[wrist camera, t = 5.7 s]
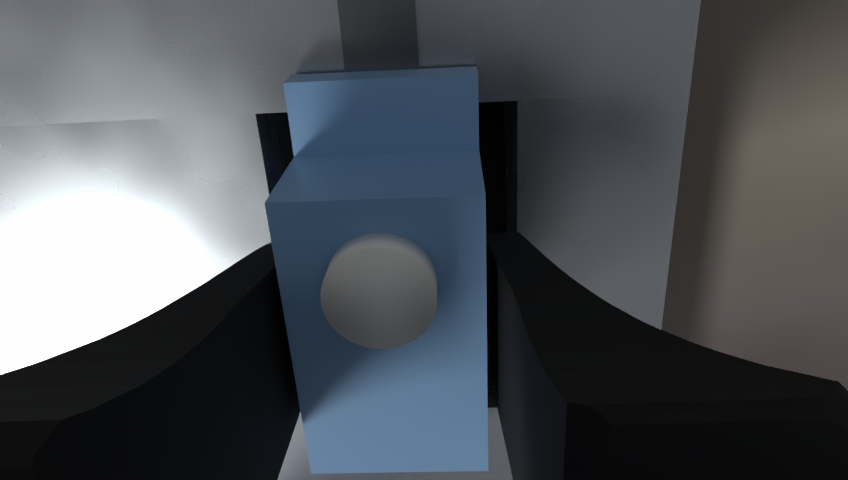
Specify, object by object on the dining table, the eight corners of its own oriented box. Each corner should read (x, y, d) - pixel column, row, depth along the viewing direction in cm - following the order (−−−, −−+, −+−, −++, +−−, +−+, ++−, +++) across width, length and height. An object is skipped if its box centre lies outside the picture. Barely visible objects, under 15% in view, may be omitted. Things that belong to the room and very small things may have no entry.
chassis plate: (607, 511, 18) (631, 595, 16) (114, 522, 19) (70, 603, 16) (667, -160, 11) (725, -184, 9) (-115, -108, 12) (-247, -117, 9)
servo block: (476, 351, 16) (490, 546, 11) (355, 354, 16) (314, 547, 11) (471, 40, 13) (487, 117, 8) (318, 47, 13) (237, 127, 8)
